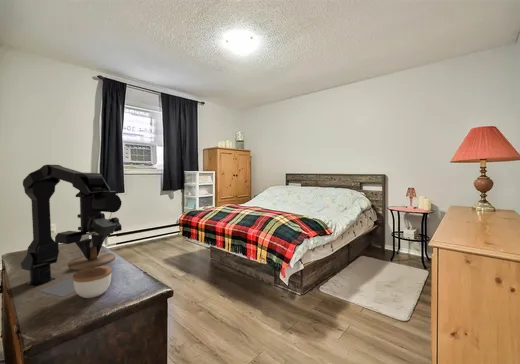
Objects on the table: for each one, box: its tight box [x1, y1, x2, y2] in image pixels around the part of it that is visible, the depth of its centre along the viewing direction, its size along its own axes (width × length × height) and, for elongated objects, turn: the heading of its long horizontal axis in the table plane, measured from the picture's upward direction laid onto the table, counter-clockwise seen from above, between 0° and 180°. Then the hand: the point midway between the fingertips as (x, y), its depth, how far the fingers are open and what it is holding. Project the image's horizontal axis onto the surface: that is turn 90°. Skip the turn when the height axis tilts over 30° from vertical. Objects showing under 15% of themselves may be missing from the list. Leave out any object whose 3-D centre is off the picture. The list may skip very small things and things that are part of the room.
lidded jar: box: [72, 265, 113, 299], centre depth 81 cm, size 11×11×9 cm
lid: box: [67, 245, 116, 270], centre depth 81 cm, size 13×13×5 cm
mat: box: [39, 277, 76, 298], centre depth 86 cm, size 12×12×1 cm
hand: (92, 257), depth 81 cm, fingers closed on lid, 3 cm apart
